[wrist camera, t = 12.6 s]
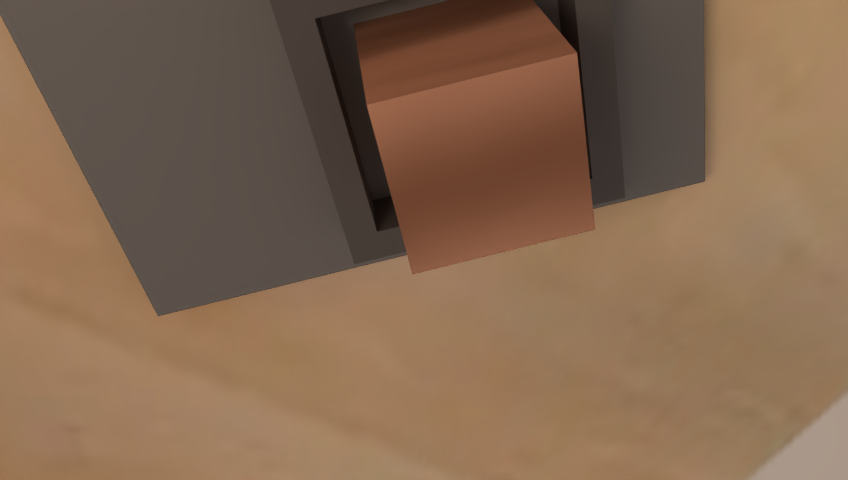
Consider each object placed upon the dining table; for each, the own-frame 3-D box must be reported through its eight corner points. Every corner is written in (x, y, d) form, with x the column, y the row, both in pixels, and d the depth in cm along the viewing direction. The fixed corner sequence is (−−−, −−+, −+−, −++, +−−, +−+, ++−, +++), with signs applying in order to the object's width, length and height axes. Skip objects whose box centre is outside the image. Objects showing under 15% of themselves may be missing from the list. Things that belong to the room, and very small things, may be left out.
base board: (162, 299, 29) (148, 353, 26) (-5, -27, 22) (-44, 4, 20) (693, 168, 29) (730, 209, 26) (688, -201, 22) (737, -192, 19)
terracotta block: (353, 24, 23) (366, 105, 18) (518, -18, 23) (577, 52, 18) (391, 169, 26) (412, 274, 21) (538, 132, 26) (595, 229, 21)
